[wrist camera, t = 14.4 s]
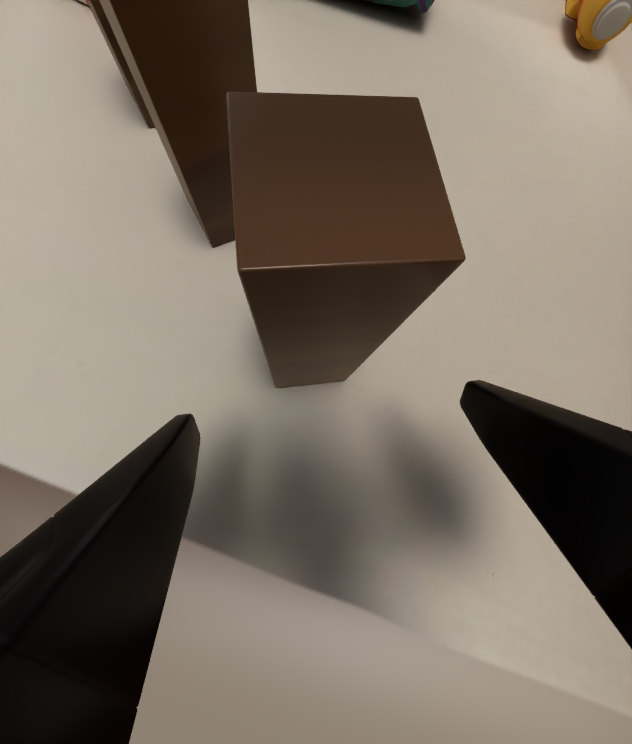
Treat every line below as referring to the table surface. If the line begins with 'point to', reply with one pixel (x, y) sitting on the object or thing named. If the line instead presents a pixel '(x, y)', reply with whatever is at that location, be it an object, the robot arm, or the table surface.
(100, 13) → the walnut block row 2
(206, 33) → the walnut block
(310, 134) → the walnut block loose
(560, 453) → the robot arm
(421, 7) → the pencil case
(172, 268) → the table surface
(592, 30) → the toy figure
